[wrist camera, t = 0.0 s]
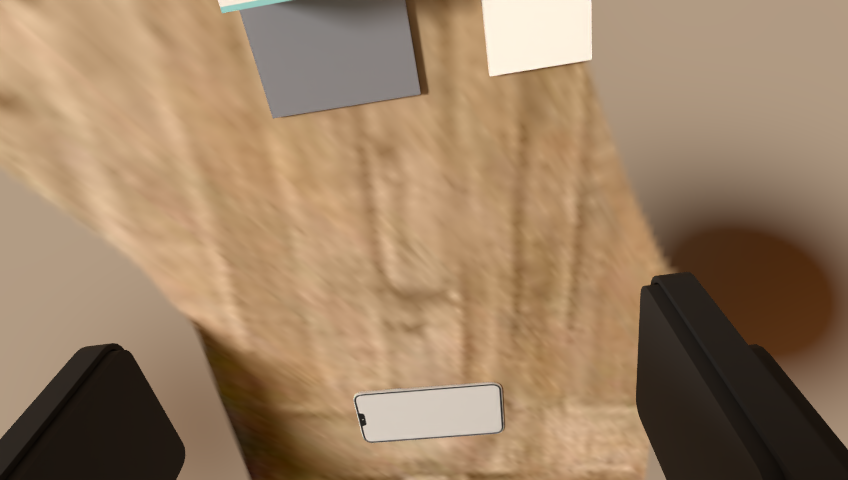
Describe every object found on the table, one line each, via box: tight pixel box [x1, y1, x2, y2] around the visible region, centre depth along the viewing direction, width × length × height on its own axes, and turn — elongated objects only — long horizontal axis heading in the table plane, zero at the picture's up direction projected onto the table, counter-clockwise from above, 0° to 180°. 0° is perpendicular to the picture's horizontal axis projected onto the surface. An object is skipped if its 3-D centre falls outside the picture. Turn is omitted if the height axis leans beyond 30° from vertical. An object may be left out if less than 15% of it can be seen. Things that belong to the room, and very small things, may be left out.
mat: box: [239, 0, 421, 118], centre depth 35 cm, size 12×11×1 cm
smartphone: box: [354, 382, 504, 443], centre depth 54 cm, size 7×1×15 cm
